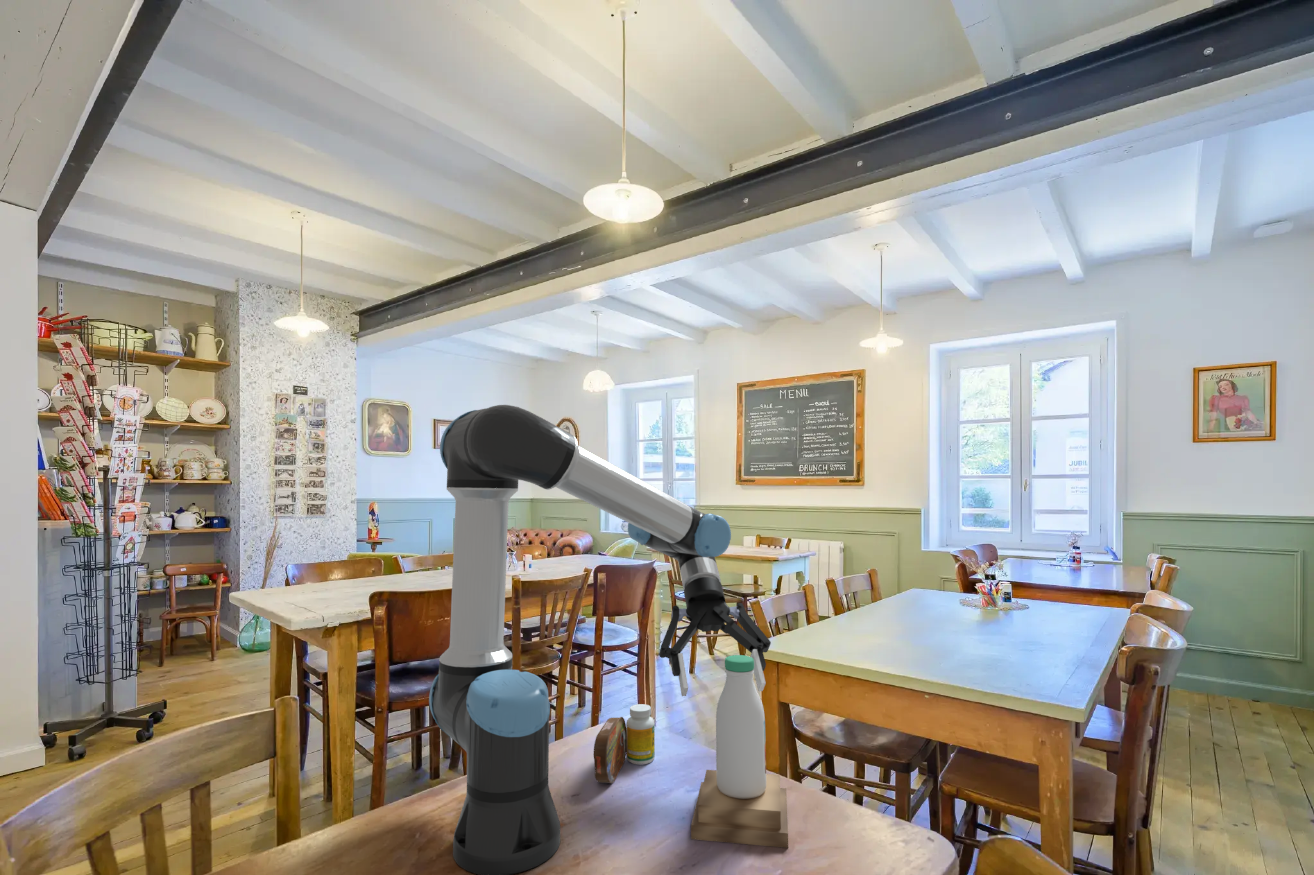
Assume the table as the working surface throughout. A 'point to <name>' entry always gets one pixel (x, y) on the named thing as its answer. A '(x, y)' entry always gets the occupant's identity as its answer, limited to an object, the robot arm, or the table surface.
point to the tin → (610, 750)
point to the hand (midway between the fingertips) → (724, 690)
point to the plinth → (742, 831)
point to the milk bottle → (740, 732)
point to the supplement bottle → (640, 735)
